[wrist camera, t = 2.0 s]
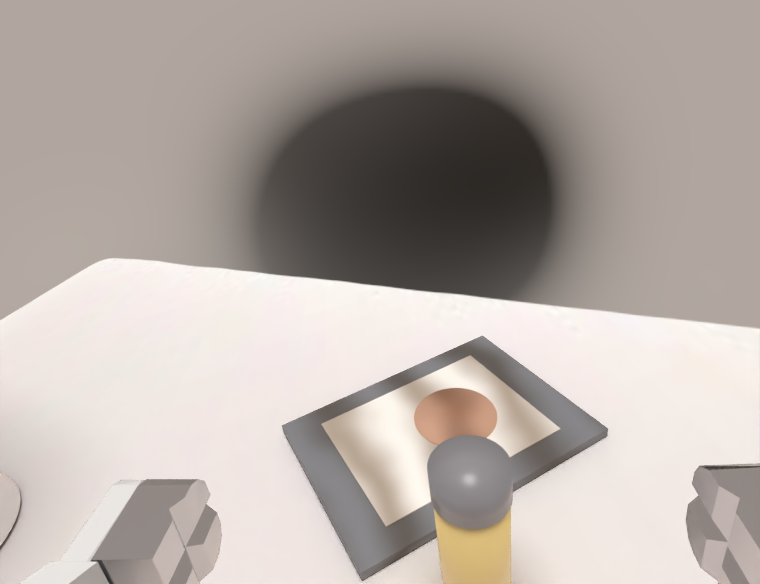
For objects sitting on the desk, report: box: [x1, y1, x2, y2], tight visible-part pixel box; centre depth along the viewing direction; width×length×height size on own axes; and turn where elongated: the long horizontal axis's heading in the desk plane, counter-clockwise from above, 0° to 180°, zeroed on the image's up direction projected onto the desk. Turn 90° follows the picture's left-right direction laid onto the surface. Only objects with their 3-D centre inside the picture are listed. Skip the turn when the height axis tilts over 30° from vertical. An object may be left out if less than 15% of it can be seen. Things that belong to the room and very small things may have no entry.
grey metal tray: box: [282, 336, 608, 581], centre depth 44 cm, size 22×16×1 cm
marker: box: [427, 435, 513, 584], centre depth 29 cm, size 4×4×12 cm
